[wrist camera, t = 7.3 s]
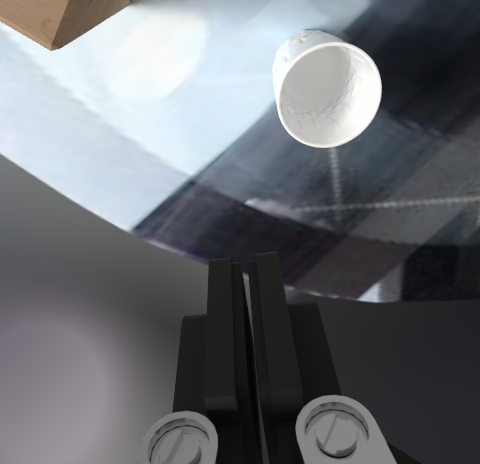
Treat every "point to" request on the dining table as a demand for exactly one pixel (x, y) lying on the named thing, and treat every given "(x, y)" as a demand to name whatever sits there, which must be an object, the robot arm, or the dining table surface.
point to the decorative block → (57, 18)
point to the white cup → (324, 88)
